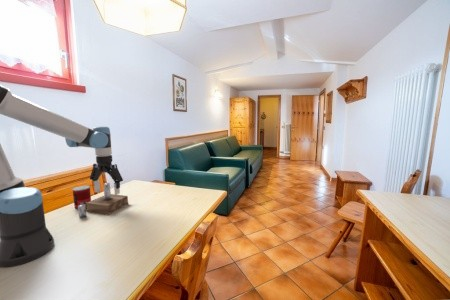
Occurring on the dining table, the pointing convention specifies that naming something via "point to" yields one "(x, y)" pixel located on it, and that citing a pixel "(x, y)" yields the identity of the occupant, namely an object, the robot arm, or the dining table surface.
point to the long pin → (107, 191)
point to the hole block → (107, 204)
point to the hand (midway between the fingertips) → (107, 192)
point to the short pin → (82, 211)
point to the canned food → (81, 195)
